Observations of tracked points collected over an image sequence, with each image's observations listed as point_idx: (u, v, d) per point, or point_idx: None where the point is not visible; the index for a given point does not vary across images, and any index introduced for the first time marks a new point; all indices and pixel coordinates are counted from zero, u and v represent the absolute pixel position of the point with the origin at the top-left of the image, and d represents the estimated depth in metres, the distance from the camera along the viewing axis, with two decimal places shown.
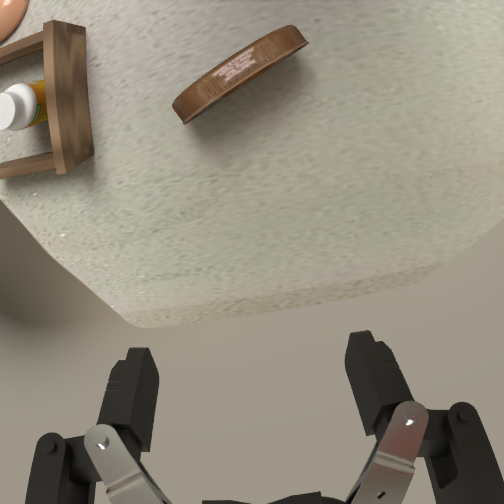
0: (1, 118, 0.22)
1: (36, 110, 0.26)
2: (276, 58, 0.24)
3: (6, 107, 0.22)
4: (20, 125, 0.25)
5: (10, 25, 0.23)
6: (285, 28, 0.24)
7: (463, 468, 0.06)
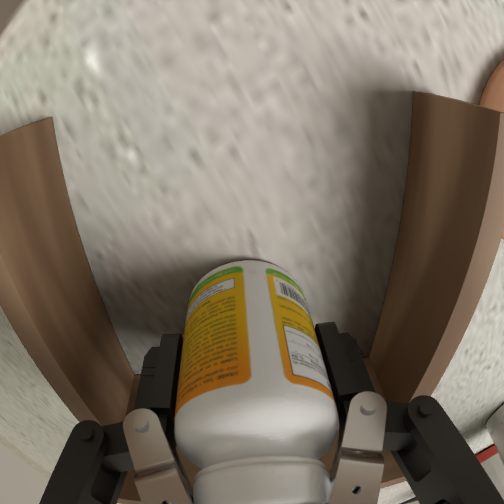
0: None
1: None
2: None
3: None
4: (195, 464, 0.09)
5: None
6: None
7: (436, 461, 0.07)
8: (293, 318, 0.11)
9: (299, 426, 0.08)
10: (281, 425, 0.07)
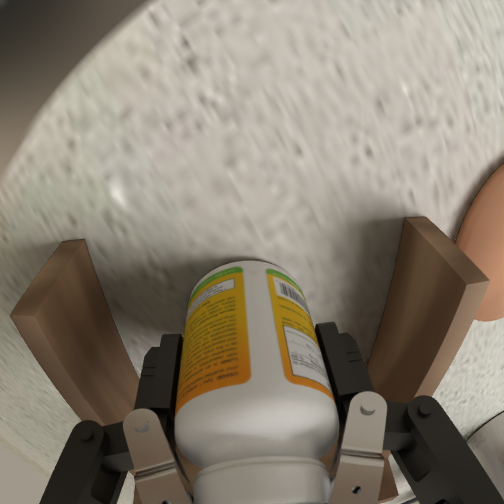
0: None
1: None
2: None
3: None
4: (195, 464, 0.09)
5: None
6: None
7: (436, 461, 0.07)
8: (293, 319, 0.11)
9: (299, 426, 0.08)
10: (281, 425, 0.07)
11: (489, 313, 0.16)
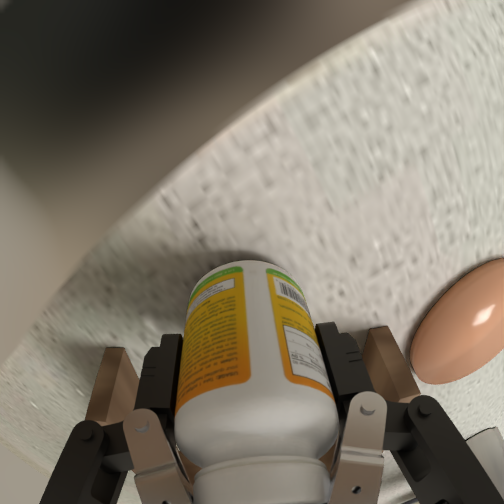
0: None
1: None
2: None
3: None
4: (195, 464, 0.09)
5: (424, 373, 0.19)
6: None
7: (436, 461, 0.07)
8: (293, 318, 0.11)
9: (299, 426, 0.08)
10: (281, 425, 0.08)
11: (445, 378, 0.20)
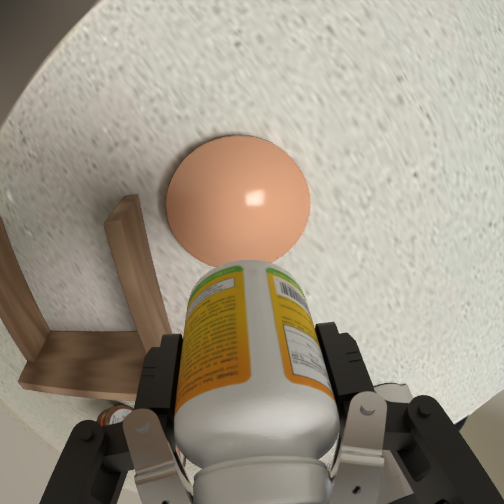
0: None
1: None
2: None
3: None
4: (195, 464, 0.09)
5: (192, 248, 0.26)
6: None
7: (436, 461, 0.07)
8: (293, 318, 0.11)
9: (299, 425, 0.08)
10: (281, 425, 0.07)
11: None
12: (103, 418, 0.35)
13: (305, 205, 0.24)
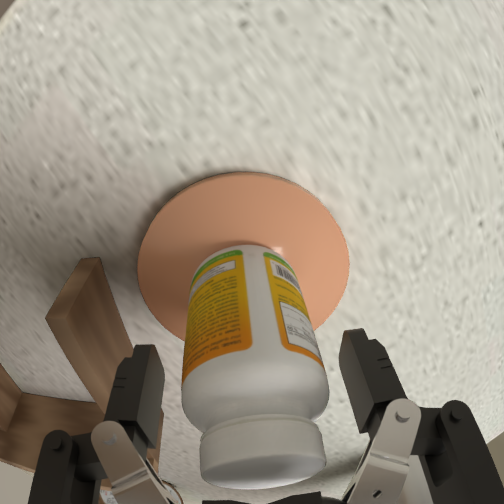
0: (241, 477, 0.08)
1: None
2: None
3: (271, 481, 0.09)
4: (199, 429, 0.10)
5: (179, 330, 0.18)
6: None
7: (458, 466, 0.06)
8: (288, 296, 0.12)
9: (294, 388, 0.09)
10: (279, 387, 0.09)
11: None
12: None
13: (341, 275, 0.17)
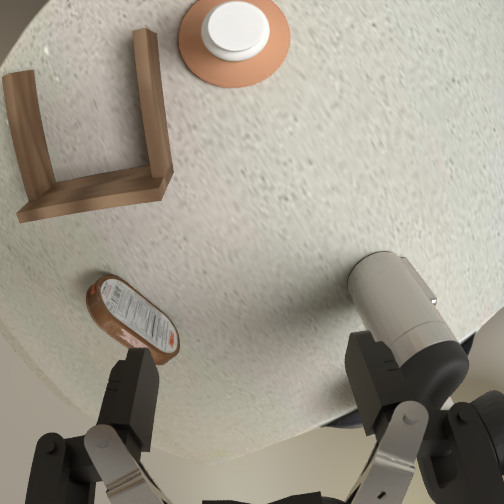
0: (225, 25, 0.18)
1: (222, 59, 0.22)
2: None
3: (240, 36, 0.19)
4: (207, 39, 0.20)
5: (196, 68, 0.28)
6: (171, 357, 0.40)
7: (463, 468, 0.06)
8: None
9: None
10: None
11: (225, 81, 0.29)
12: (95, 283, 0.37)
13: (286, 35, 0.26)
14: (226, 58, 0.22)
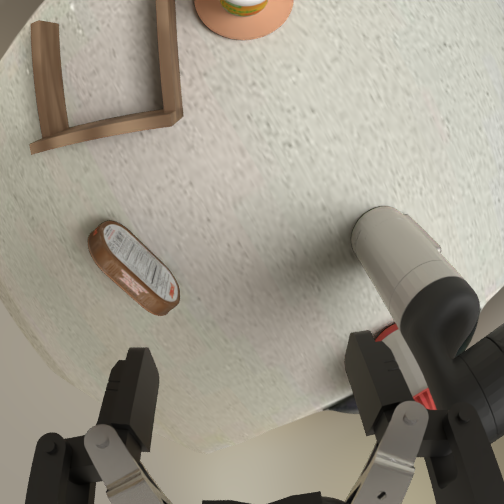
0: None
1: (233, 4, 0.23)
2: (143, 307, 0.38)
3: None
4: None
5: (209, 22, 0.28)
6: (170, 306, 0.40)
7: (463, 468, 0.06)
8: None
9: None
10: None
11: (234, 33, 0.29)
12: (98, 226, 0.37)
13: None
14: (237, 2, 0.22)
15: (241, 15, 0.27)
